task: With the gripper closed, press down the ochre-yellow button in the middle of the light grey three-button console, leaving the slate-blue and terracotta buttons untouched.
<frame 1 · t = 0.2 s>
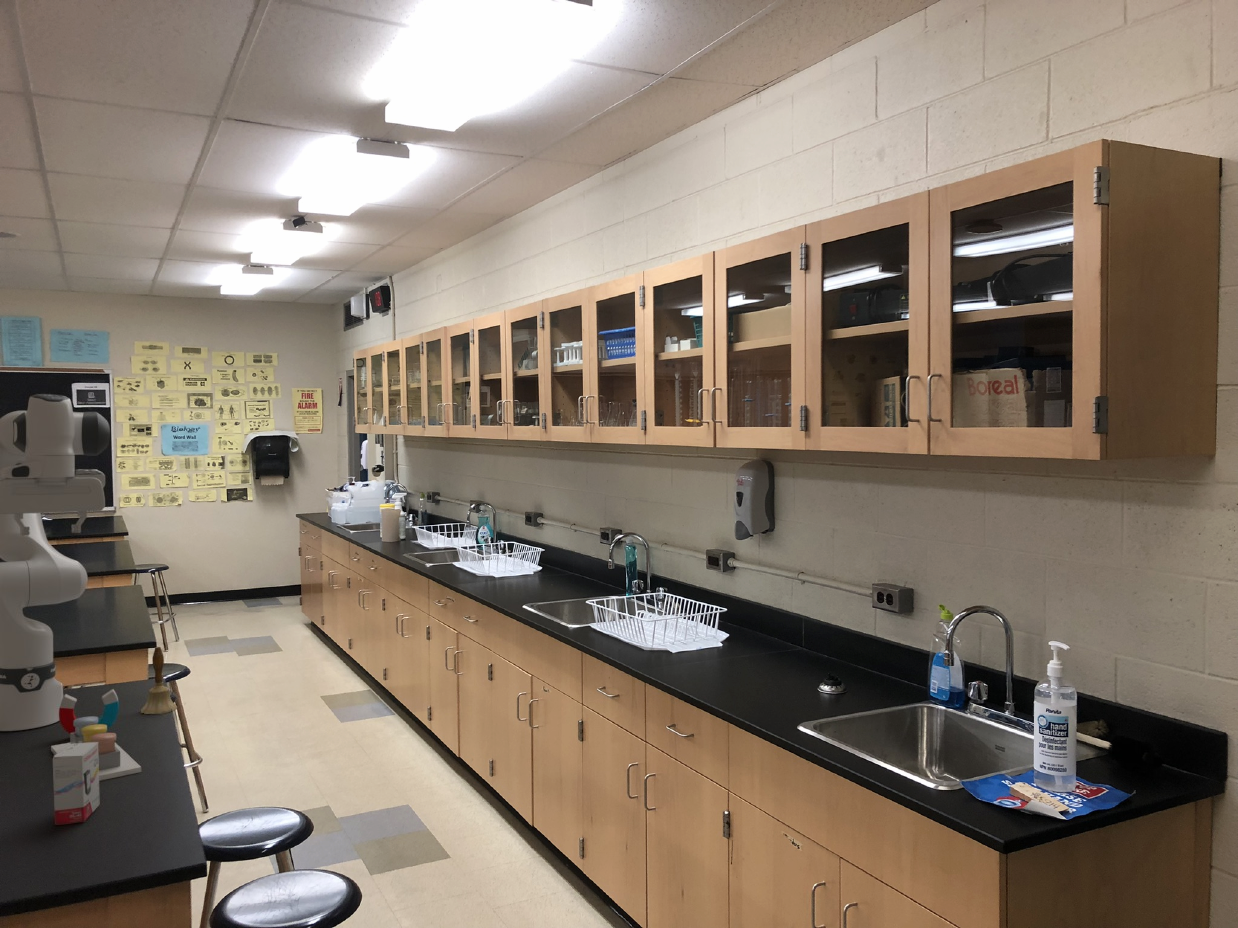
hand: (50, 534, 193), 47 cm above the lab bench, tool pointing down, fingers open, 8 cm apart
slate button: (86, 729, 195), point 5 cm above the lab bench, slide at 0.0 cm
magnet: (89, 737, 206), on the lab bench
terracotta button: (103, 747, 183), point 5 cm above the lab bench, slide at 0.0 cm
ink box: (76, 816, 160), on the lab bench
console: (94, 760, 189), on the lab bench
hand bell: (159, 710, 228), on the lab bench
ochre button: (94, 738, 189), point 5 cm above the lab bench, slide at 0.0 cm
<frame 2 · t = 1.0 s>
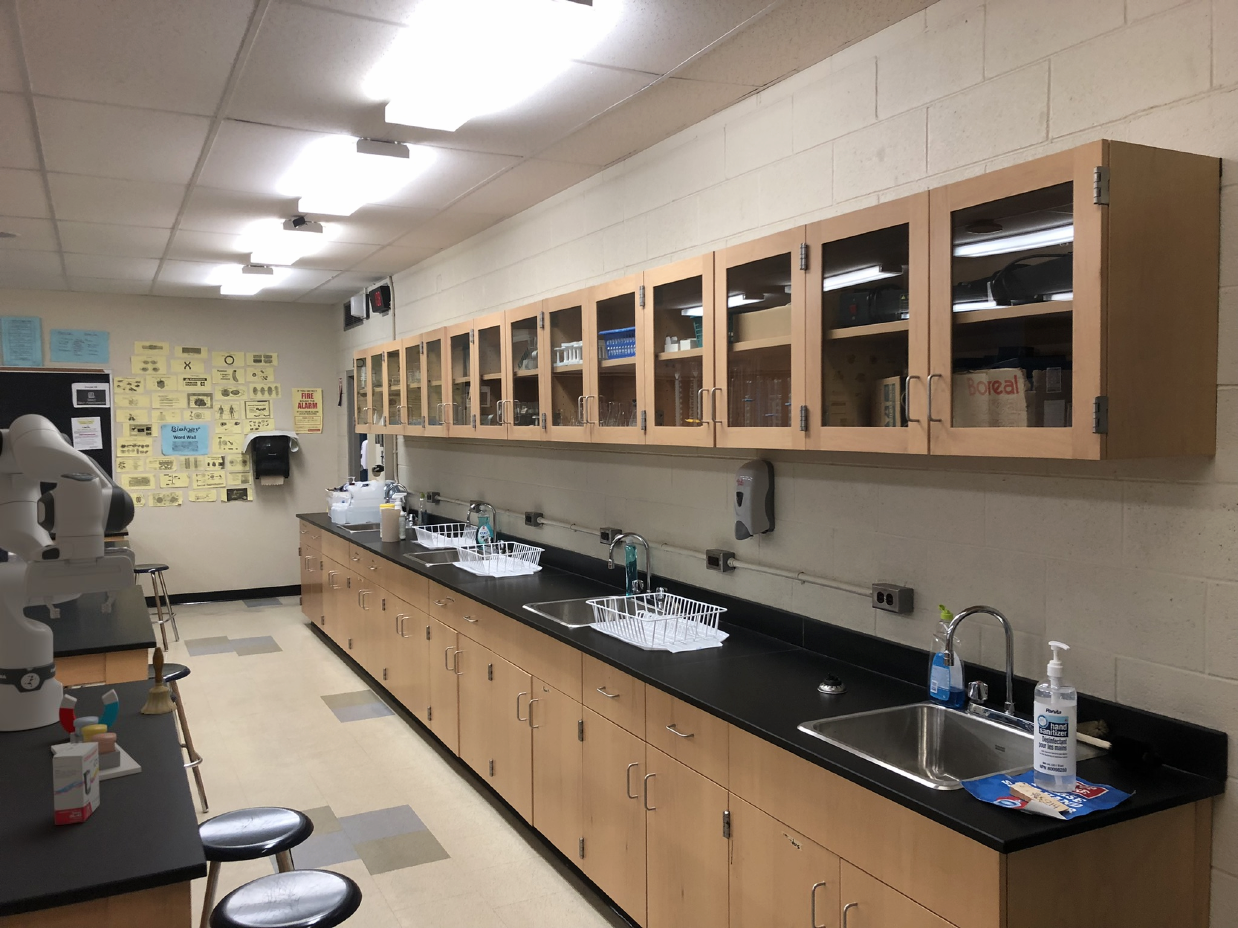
hand: (81, 615, 190), 30 cm above the lab bench, tool pointing down, fingers open, 8 cm apart
nothing on the lab bench moved.
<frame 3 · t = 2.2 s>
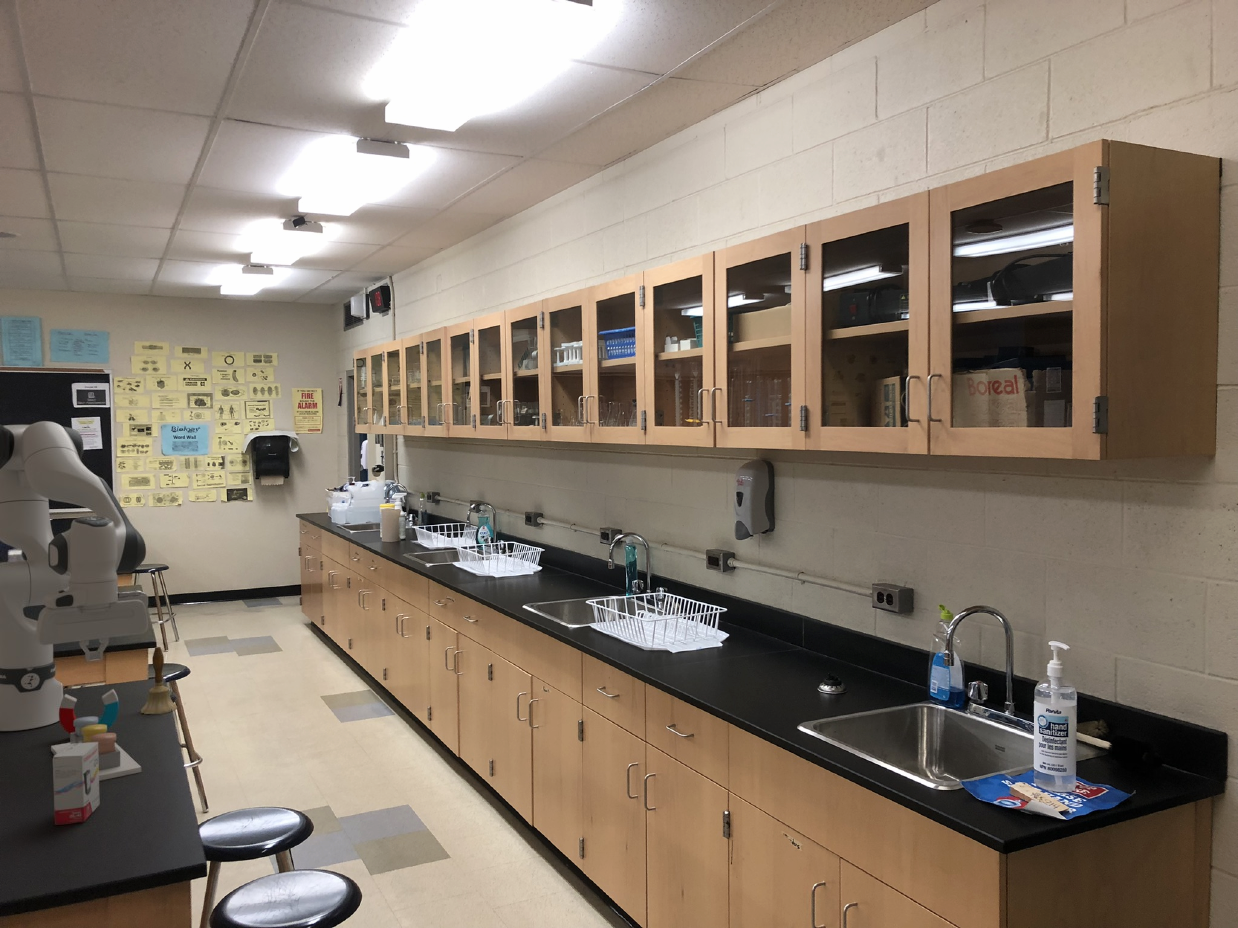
hand: (94, 660, 189), 21 cm above the lab bench, tool pointing down, fingers closed
nothing on the lab bench moved.
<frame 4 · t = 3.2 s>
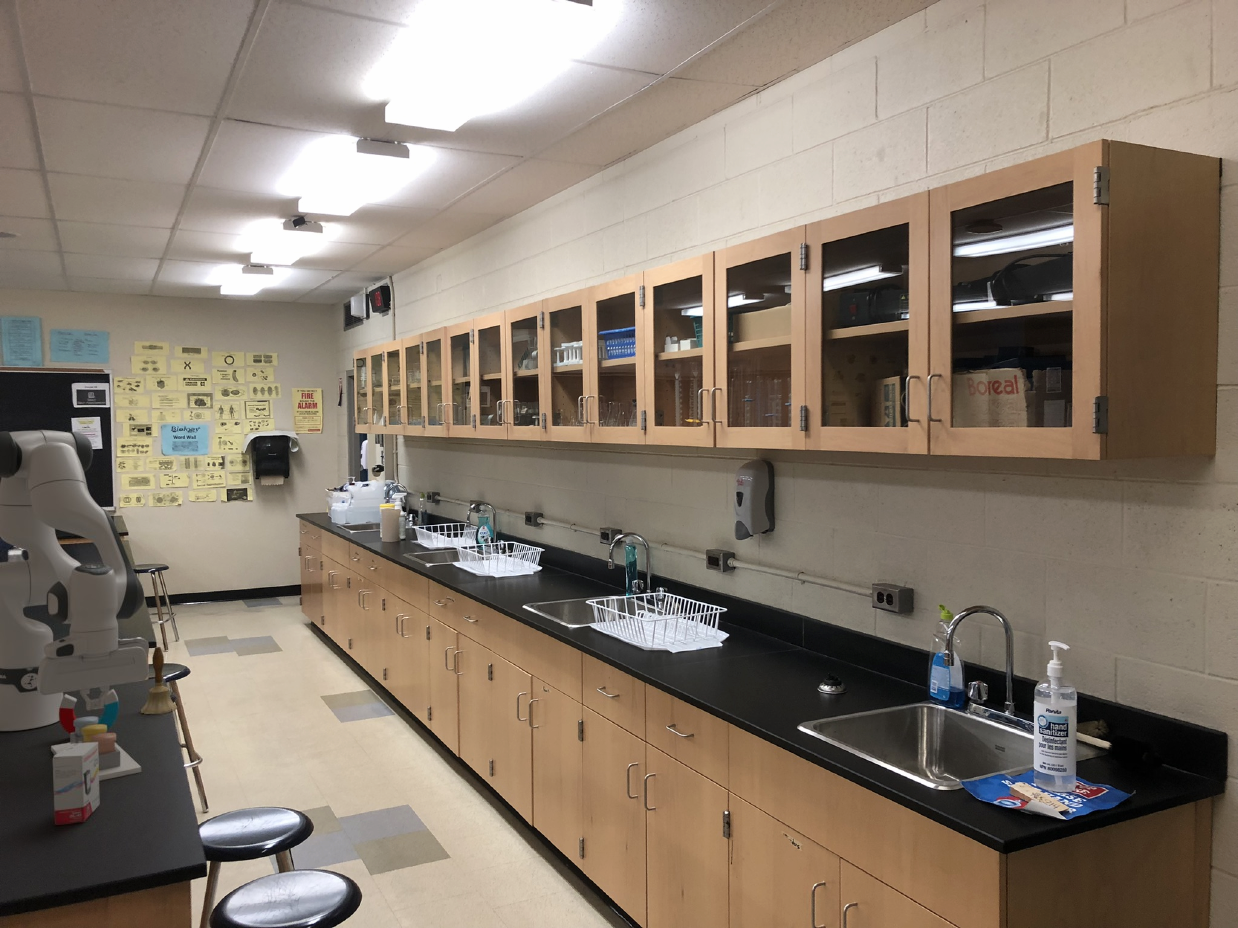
hand: (94, 708, 189), 11 cm above the lab bench, tool pointing down, fingers closed
nothing on the lab bench moved.
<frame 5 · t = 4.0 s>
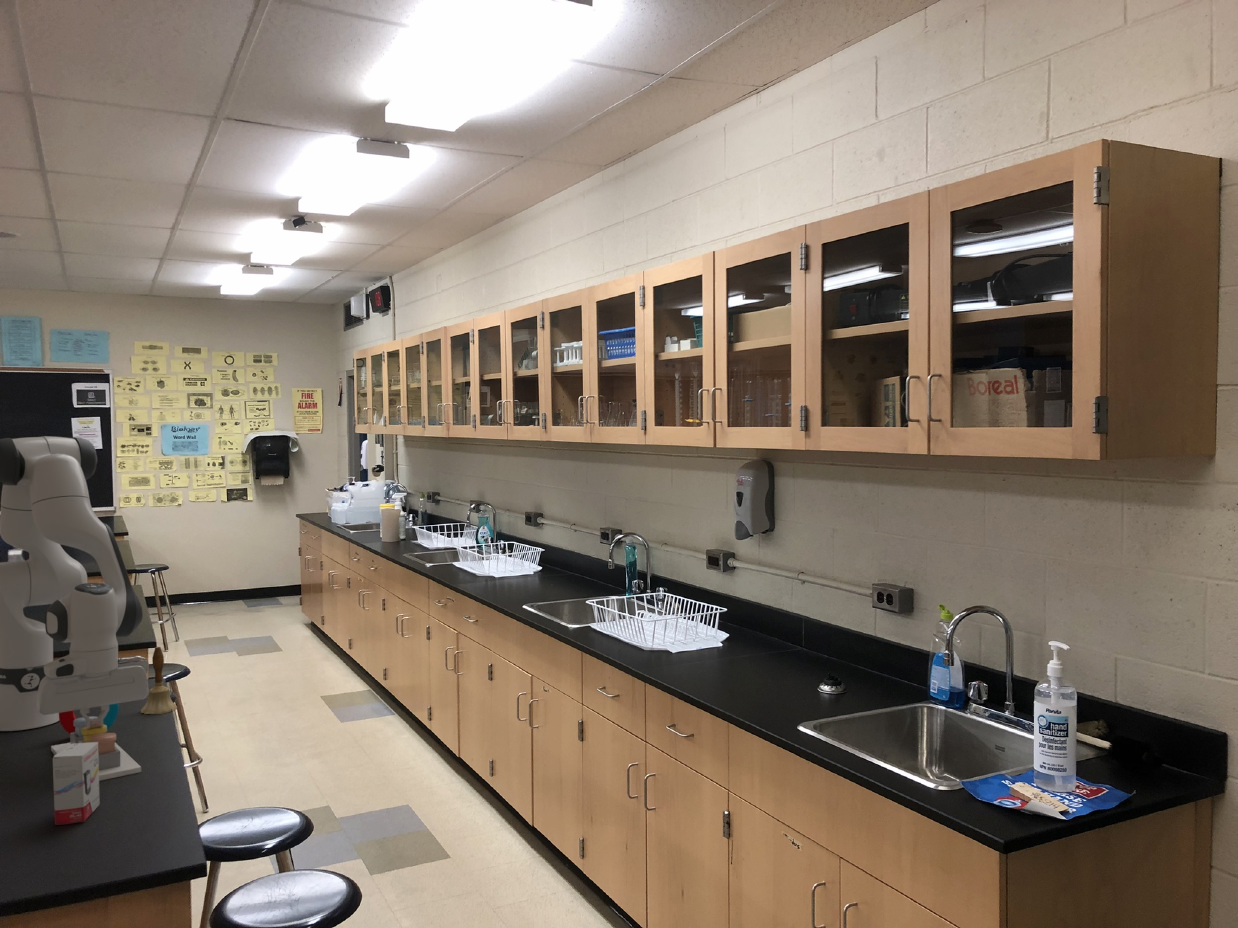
hand: (94, 727, 189), 7 cm above the lab bench, tool pointing down, fingers closed, pressing on ochre button
ochre button: (94, 738, 189), point 5 cm above the lab bench, slide at 0.0 cm, touching gripper
everything else where it was.
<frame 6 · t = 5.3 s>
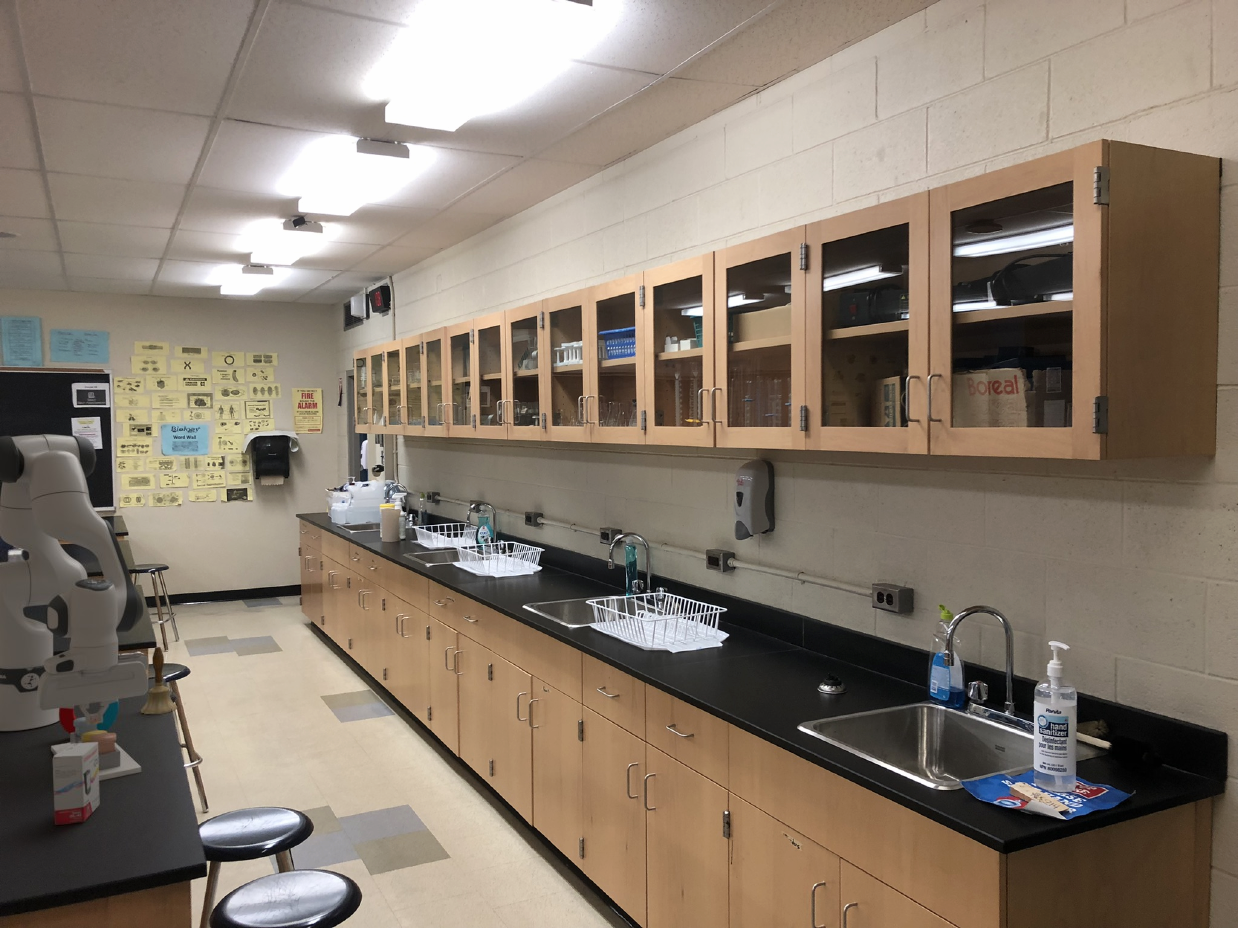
hand: (94, 722, 189), 8 cm above the lab bench, tool pointing down, fingers closed
ochre button: (94, 744, 189), point 3 cm above the lab bench, slide at 1.3 cm
everything else where it was.
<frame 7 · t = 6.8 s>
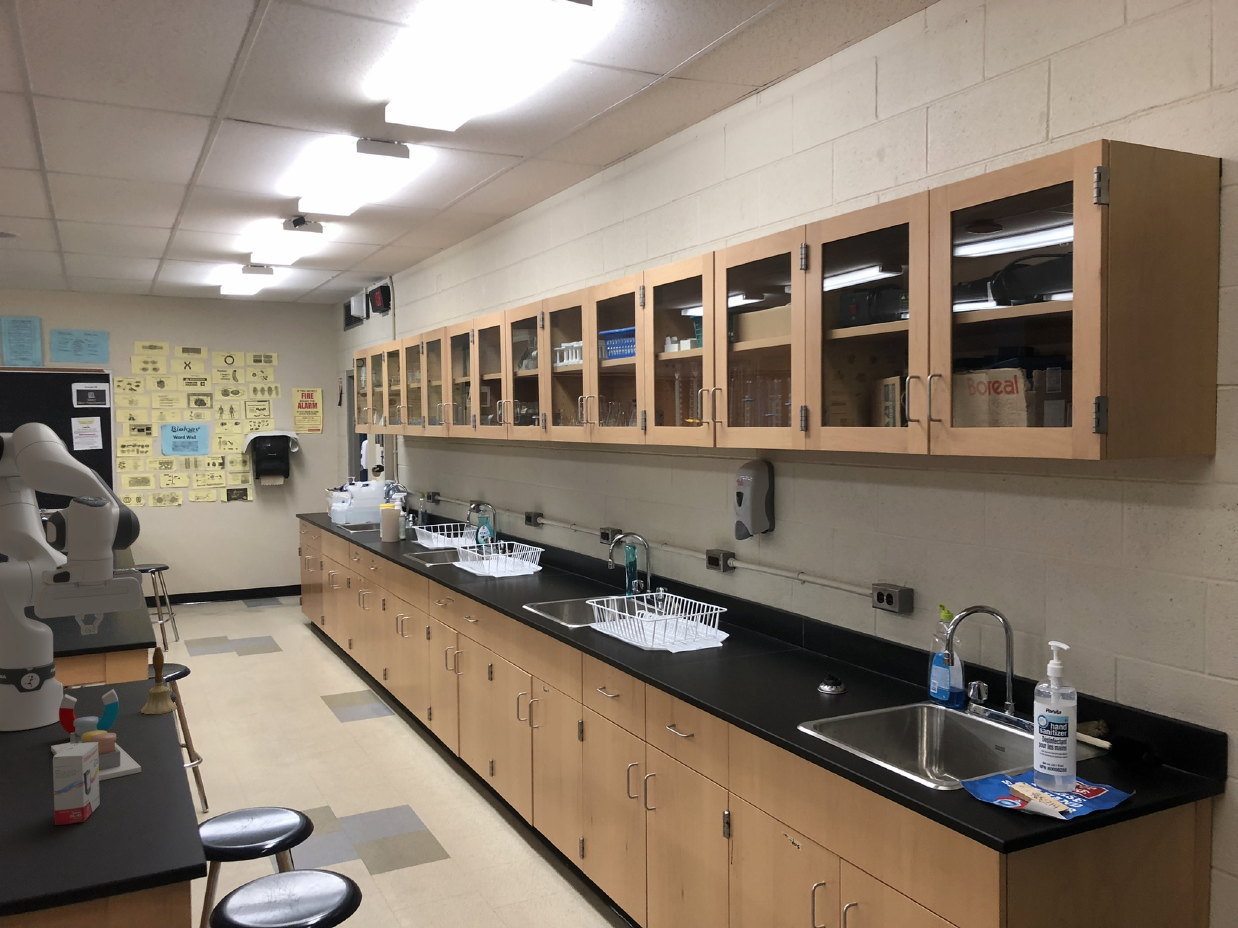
hand: (89, 633, 197), 25 cm above the lab bench, tool pointing down, fingers closed
nothing on the lab bench moved.
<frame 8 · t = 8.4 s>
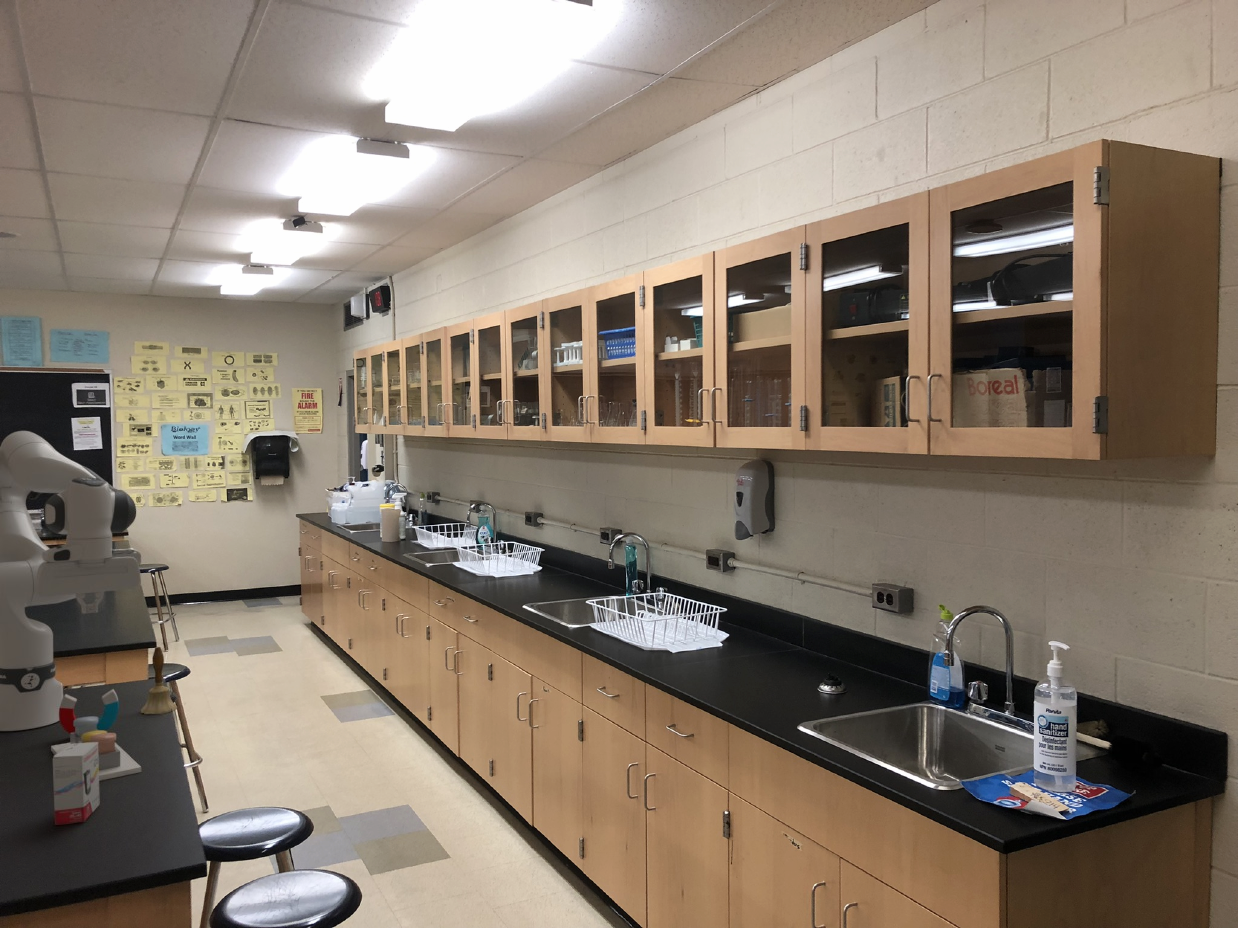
hand: (89, 612, 201), 29 cm above the lab bench, tool pointing down, fingers closed
nothing on the lab bench moved.
at the end: ochre button slide at 1.3 cm; slate button slide at 0.0 cm; terracotta button slide at 0.0 cm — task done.
